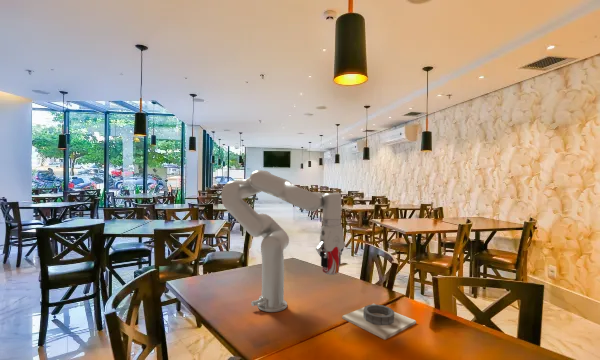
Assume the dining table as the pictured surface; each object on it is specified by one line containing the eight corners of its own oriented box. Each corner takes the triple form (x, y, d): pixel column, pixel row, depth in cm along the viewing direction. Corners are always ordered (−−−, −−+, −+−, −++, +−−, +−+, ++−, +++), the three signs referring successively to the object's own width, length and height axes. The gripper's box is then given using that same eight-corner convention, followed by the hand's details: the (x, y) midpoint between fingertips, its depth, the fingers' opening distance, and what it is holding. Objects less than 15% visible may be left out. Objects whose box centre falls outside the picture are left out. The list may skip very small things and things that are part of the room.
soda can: (338, 276, 120) (339, 246, 120) (321, 274, 121) (321, 245, 121) (339, 271, 126) (340, 242, 126) (323, 269, 128) (323, 241, 128)
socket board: (384, 339, 103) (385, 328, 103) (342, 318, 118) (342, 308, 118) (415, 323, 115) (416, 312, 115) (373, 305, 131) (373, 296, 131)
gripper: (322, 225, 115) (321, 271, 115) (352, 222, 126) (351, 264, 126) (310, 223, 121) (309, 266, 121) (339, 220, 132) (338, 260, 132)
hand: (330, 265), depth 124 cm, fingers closed on soda can, 7 cm apart
